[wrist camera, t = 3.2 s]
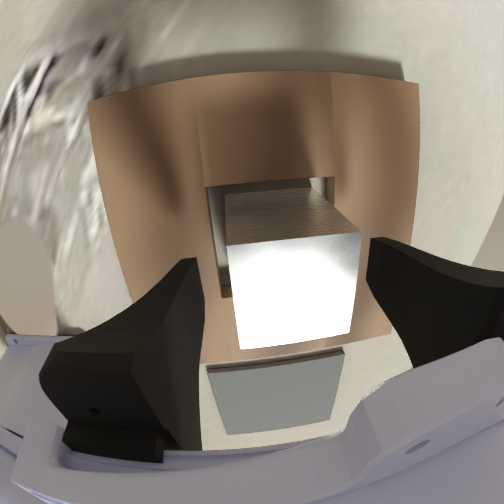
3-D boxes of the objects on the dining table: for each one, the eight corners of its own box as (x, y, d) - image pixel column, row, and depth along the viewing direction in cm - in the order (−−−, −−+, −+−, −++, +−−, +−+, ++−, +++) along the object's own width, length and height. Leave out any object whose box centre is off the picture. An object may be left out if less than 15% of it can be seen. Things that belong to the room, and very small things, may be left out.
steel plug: (233, 271, 16) (240, 349, 11) (224, 194, 14) (226, 246, 9) (311, 262, 16) (349, 332, 11) (311, 187, 14) (361, 231, 9)
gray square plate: (227, 431, 24) (227, 434, 24) (207, 369, 19) (207, 373, 19) (328, 416, 24) (329, 419, 24) (343, 350, 20) (344, 353, 20)
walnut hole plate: (160, 353, 18) (157, 365, 17) (97, 102, 11) (87, 102, 10) (383, 322, 19) (390, 333, 18) (405, 84, 12) (418, 83, 11)
